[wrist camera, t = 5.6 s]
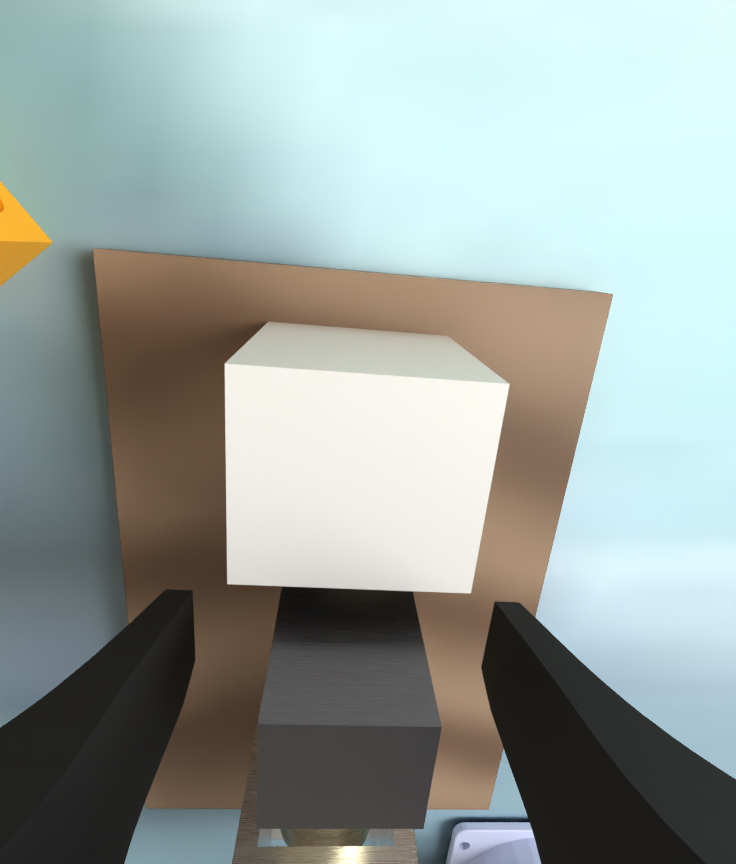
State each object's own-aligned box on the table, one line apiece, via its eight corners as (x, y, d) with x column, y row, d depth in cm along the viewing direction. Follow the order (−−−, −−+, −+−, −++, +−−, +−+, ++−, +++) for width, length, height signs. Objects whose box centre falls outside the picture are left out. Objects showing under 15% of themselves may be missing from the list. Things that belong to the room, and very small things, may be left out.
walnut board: (482, 785, 22) (488, 809, 21) (154, 782, 21) (145, 808, 20) (596, 291, 15) (612, 294, 14) (109, 248, 14) (93, 248, 13)
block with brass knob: (371, 764, 18) (389, 1039, 11) (281, 762, 17) (248, 1045, 11) (416, 398, 13) (485, 528, 7) (294, 390, 13) (253, 517, 7)
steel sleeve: (382, 809, 21) (396, 996, 15) (259, 808, 20) (231, 1000, 15) (397, 698, 19) (419, 871, 13) (261, 695, 18) (230, 872, 13)
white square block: (427, 480, 16) (471, 593, 10) (265, 471, 15) (227, 584, 10) (447, 335, 14) (509, 383, 9) (268, 321, 14) (224, 363, 8)
